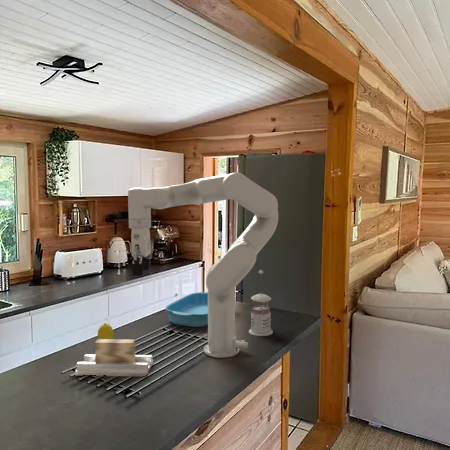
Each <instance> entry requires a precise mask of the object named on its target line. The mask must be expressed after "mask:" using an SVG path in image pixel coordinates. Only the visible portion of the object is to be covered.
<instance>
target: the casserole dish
mask: <svg viewBox="0 0 450 450" xmlns="http://www.w3.org/2000/svg"><path fill="white" fill-rule="evenodd" d="M164 309H165V312H166V314H167V317H168V320H169V321H170V322H171V323H172V324H173V325H178V326H183V327H184V326H187V327H193V328H202V327H206V326H208V291H206V292H203V291H200V292H199V291H198V292H194V293H190V294H188V295H185V296H183V297H181V298H180V299H177V300H175V301H173V302H171V303H169V304H168V305H166V306H165V308H164Z"/></svg>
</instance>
